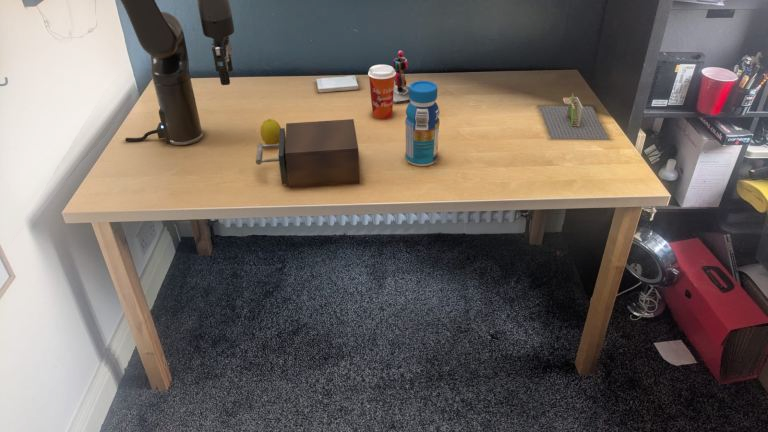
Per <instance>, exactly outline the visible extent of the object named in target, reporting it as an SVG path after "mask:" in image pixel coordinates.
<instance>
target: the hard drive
mask: <svg viewBox="0 0 768 432" xmlns="http://www.w3.org/2000/svg"><path fill="white" fill-rule="evenodd" d="M315 79H316V81H315V82H316V86H317V92H318V93H319V94H321V93H332V92H333V93H334V92H343V91H344V92H345V91H356V90H359V84H358V82H357V78H356V76H355V75H346V76H332V77H320V78H319V77H318V78H315Z"/></svg>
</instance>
